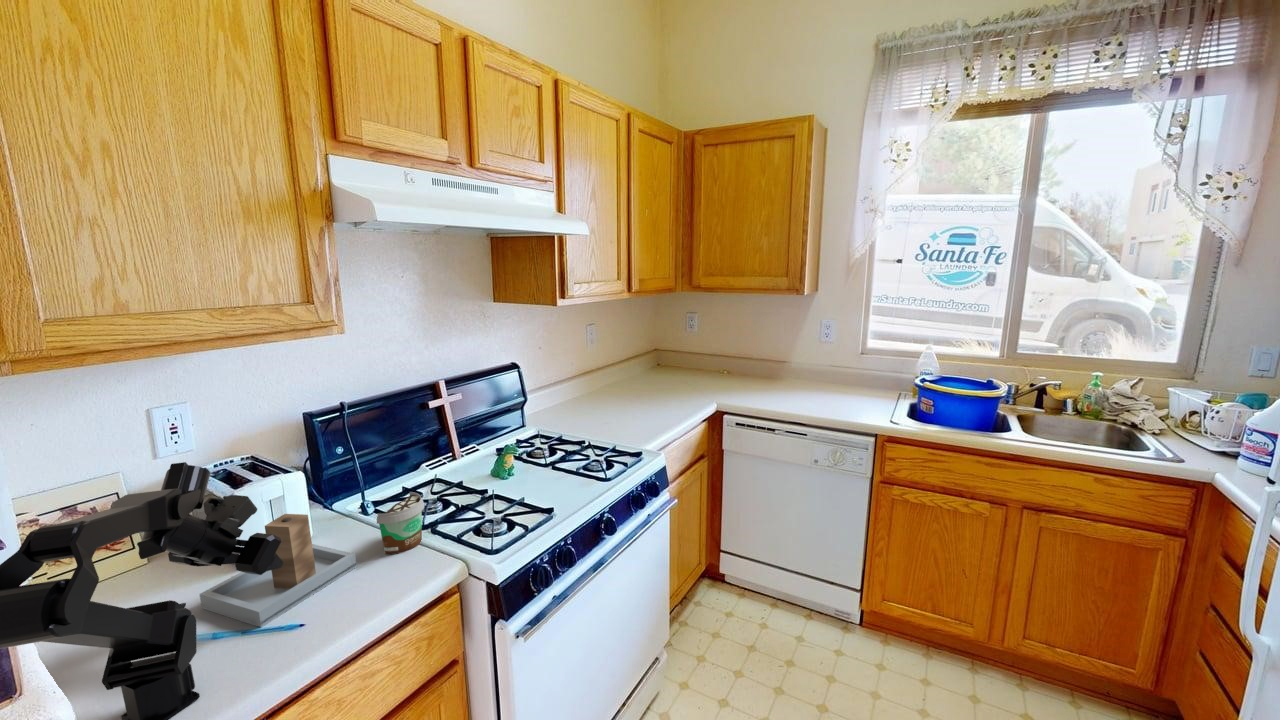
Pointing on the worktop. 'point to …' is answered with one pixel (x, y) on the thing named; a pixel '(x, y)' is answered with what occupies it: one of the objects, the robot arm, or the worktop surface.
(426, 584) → the worktop surface
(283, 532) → the block
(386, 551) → the food container
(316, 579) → the tray
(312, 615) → the worktop surface
